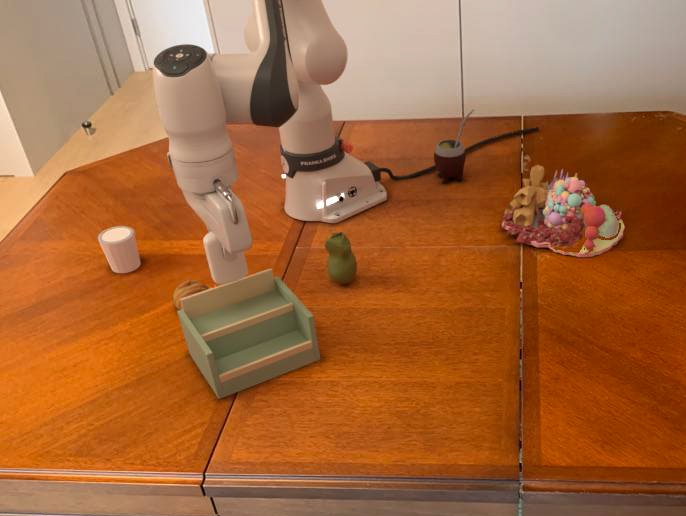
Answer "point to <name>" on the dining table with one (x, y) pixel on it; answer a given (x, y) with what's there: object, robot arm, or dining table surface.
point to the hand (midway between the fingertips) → (225, 252)
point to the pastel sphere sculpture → (560, 215)
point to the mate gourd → (451, 157)
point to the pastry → (187, 291)
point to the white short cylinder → (120, 248)
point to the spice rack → (248, 332)
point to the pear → (340, 259)
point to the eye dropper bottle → (223, 262)
